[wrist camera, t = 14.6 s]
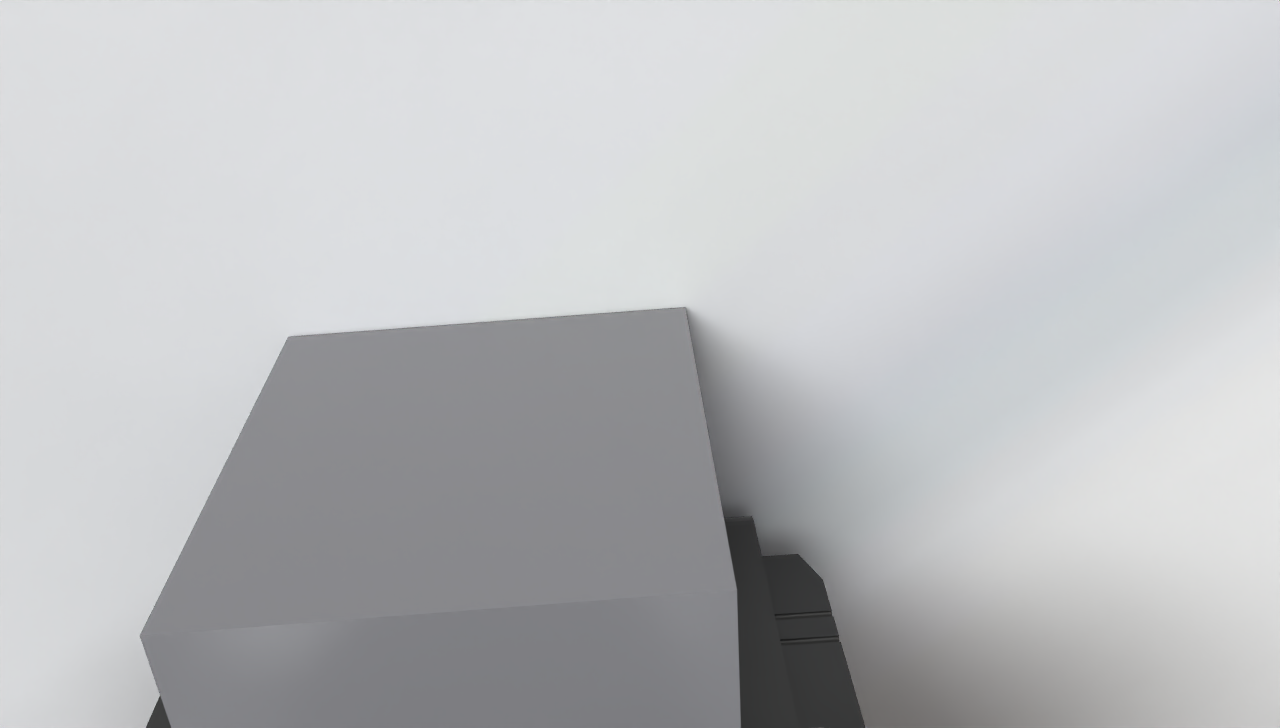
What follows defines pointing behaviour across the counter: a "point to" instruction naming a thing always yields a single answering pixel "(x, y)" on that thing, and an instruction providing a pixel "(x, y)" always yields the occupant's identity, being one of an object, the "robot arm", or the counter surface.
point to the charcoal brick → (462, 538)
